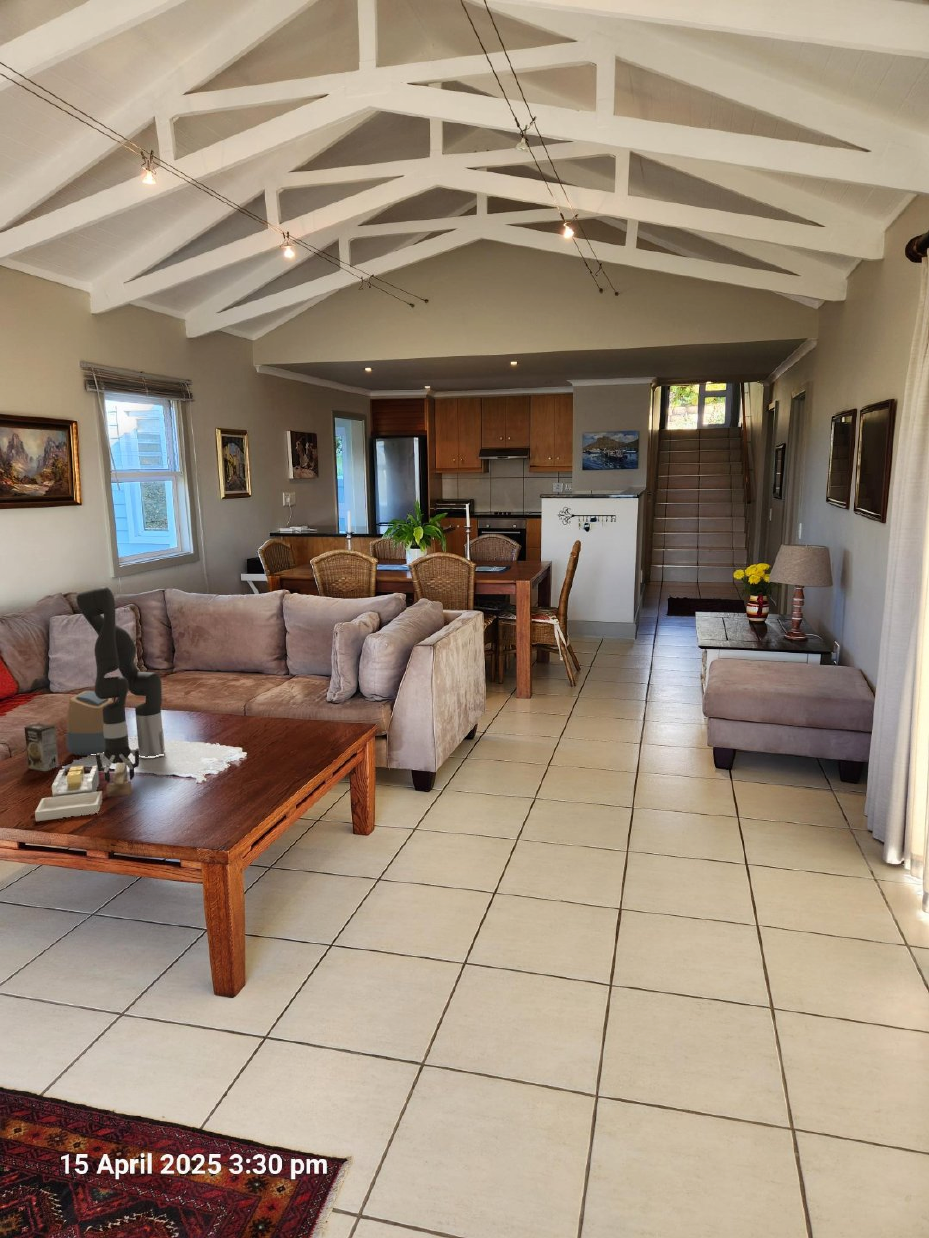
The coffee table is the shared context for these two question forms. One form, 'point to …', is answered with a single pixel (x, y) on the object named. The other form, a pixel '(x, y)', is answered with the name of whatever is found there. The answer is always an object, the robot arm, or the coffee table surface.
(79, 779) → the block
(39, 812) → the tray
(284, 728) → the coffee table surface
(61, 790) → the channel
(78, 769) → the block
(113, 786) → the beige wedge bookend
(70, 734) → the two-tone rounded housing
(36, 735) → the coffee box
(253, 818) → the coffee table surface
